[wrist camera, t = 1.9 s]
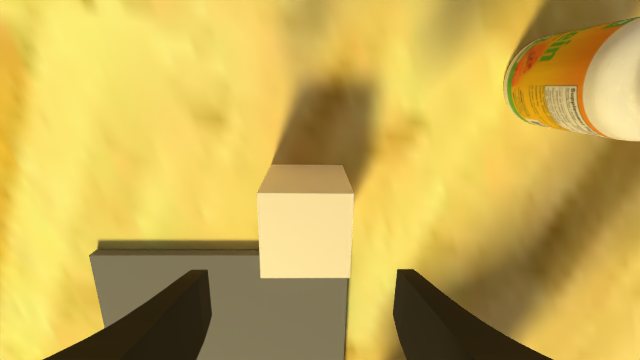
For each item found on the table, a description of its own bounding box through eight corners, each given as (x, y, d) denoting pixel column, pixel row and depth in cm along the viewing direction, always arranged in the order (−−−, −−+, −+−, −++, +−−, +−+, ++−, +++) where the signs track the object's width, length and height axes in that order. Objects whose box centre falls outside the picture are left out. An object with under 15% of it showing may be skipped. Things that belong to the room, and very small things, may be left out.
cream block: (342, 164, 21) (354, 193, 16) (339, 229, 23) (350, 277, 17) (271, 164, 21) (257, 193, 16) (273, 229, 23) (260, 278, 17)
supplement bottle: (569, 17, 19) (813, -47, 10) (595, 96, 21) (831, 104, 11) (487, 67, 20) (644, 50, 10) (518, 139, 21) (680, 181, 12)
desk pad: (347, 249, 23) (348, 255, 22) (341, 377, 27) (342, 385, 26) (96, 249, 23) (89, 255, 22) (123, 380, 26) (117, 388, 25)
